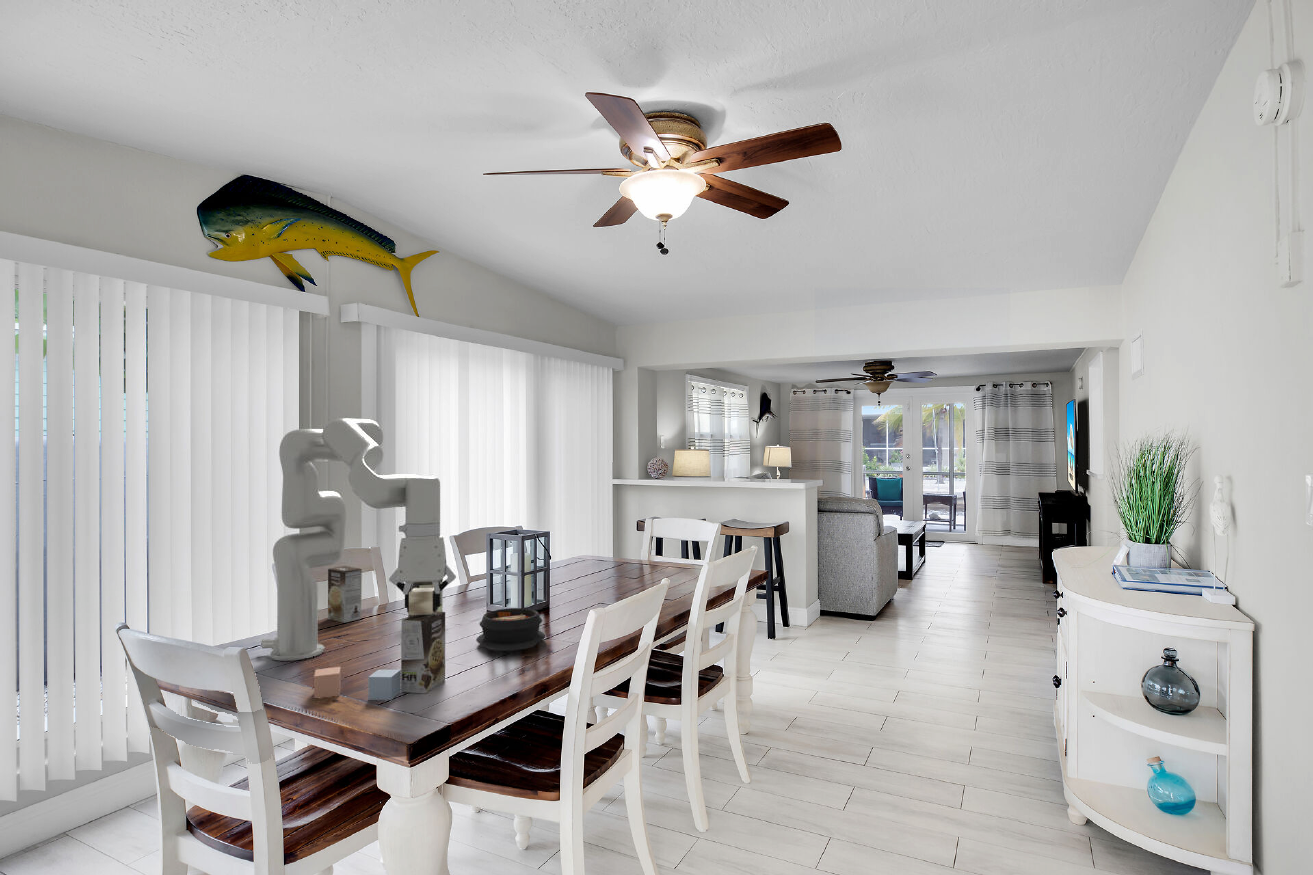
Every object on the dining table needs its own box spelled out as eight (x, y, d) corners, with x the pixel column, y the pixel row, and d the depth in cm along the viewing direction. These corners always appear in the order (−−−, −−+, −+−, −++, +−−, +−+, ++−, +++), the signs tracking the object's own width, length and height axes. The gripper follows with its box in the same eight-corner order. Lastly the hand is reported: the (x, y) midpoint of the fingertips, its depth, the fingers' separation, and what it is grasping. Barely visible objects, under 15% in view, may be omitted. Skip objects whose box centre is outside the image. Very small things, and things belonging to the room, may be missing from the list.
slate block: (368, 700, 151) (368, 676, 151) (378, 691, 156) (378, 669, 156) (391, 700, 151) (391, 676, 151) (400, 692, 156) (400, 669, 156)
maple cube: (408, 615, 157) (408, 592, 157) (413, 609, 162) (413, 588, 162) (431, 614, 158) (431, 592, 158) (436, 609, 163) (436, 587, 163)
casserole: (477, 634, 204) (477, 605, 204) (542, 630, 208) (542, 602, 208) (474, 660, 179) (474, 627, 179) (548, 655, 183) (548, 623, 183)
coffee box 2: (426, 694, 155) (426, 620, 155) (399, 692, 156) (399, 619, 156) (446, 680, 163) (446, 611, 164) (421, 678, 165) (421, 609, 165)
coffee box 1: (326, 619, 222) (326, 568, 223) (344, 615, 228) (344, 565, 228) (344, 622, 218) (344, 571, 218) (362, 618, 223) (362, 567, 223)
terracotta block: (314, 699, 152) (314, 676, 152) (315, 691, 157) (315, 669, 157) (339, 696, 154) (339, 673, 154) (340, 688, 158) (340, 666, 158)
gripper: (379, 533, 155) (379, 615, 155) (458, 531, 157) (458, 613, 157) (388, 529, 163) (388, 608, 162) (463, 528, 165) (463, 605, 165)
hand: (422, 609), depth 160 cm, fingers closed on maple cube, 4 cm apart
